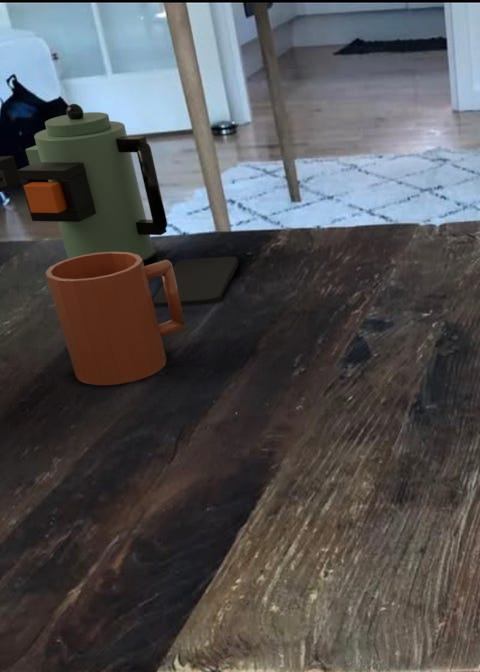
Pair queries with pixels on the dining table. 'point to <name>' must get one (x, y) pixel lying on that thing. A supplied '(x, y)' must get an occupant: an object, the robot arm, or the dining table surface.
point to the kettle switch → (45, 197)
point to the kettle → (97, 184)
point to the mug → (113, 315)
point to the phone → (200, 280)
